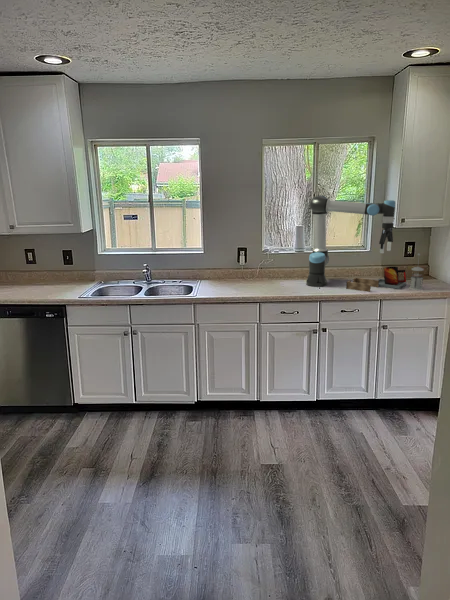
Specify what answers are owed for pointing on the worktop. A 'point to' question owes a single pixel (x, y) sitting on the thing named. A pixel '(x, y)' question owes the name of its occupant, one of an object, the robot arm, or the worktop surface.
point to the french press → (416, 278)
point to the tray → (398, 286)
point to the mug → (393, 275)
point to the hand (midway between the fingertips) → (385, 252)
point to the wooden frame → (362, 284)
